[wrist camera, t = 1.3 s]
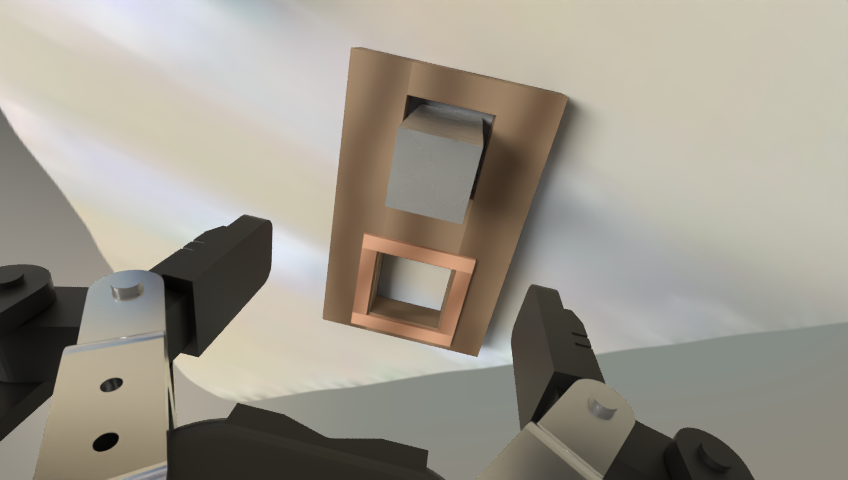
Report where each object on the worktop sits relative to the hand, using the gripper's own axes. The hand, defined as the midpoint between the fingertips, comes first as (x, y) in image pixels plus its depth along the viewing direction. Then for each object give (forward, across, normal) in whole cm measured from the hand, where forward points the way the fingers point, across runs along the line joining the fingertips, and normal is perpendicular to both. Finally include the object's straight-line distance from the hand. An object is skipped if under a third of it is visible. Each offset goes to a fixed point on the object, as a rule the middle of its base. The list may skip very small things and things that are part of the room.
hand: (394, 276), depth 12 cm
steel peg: (+19, 0, 0) cm, 19 cm away
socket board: (+19, 0, +6) cm, 20 cm away
